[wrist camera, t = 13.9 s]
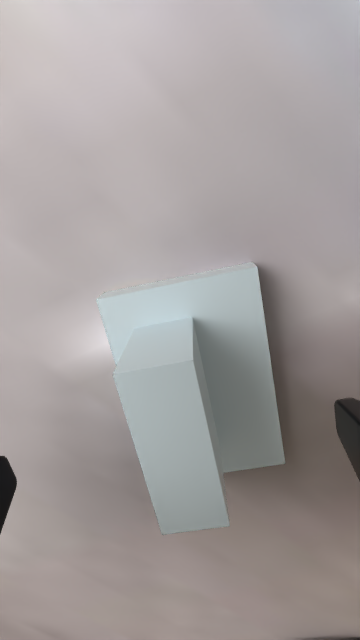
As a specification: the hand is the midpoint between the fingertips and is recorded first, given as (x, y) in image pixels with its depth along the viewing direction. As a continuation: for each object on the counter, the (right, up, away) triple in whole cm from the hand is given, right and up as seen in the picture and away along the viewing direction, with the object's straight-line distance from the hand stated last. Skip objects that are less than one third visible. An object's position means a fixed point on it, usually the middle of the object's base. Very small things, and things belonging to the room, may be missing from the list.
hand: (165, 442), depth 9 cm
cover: (+1, +1, +3) cm, 3 cm away
